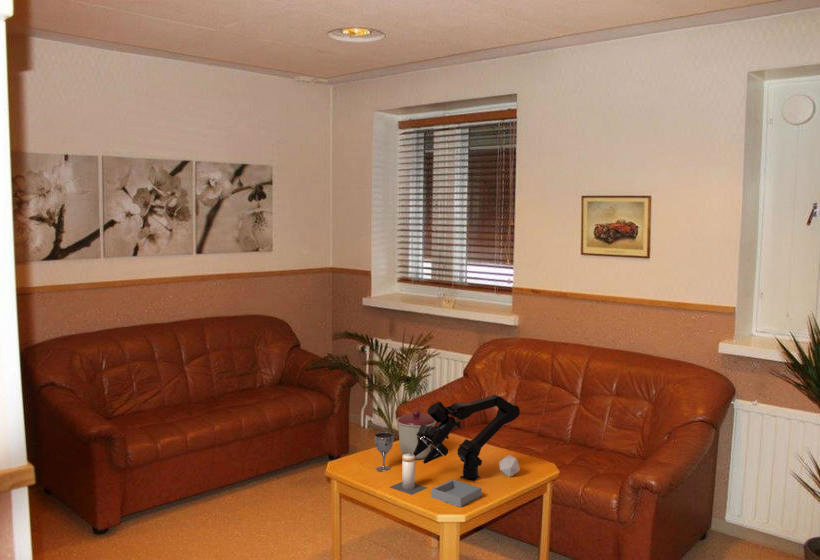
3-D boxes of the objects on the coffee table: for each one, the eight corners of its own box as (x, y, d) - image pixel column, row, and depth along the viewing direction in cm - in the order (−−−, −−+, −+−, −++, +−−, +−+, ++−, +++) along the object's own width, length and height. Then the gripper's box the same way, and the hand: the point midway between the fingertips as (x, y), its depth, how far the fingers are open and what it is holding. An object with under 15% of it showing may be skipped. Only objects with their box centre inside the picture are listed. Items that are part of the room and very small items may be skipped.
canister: (387, 454, 333) (388, 409, 331) (417, 446, 345) (417, 402, 343) (414, 465, 319) (415, 417, 318) (444, 456, 332) (444, 410, 330)
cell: (407, 484, 296) (407, 451, 295) (417, 487, 293) (417, 454, 291) (399, 487, 292) (399, 454, 291) (409, 490, 289) (409, 457, 288)
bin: (452, 487, 293) (452, 479, 293) (481, 496, 284) (481, 487, 284) (430, 497, 282) (431, 489, 282) (460, 507, 274) (460, 498, 273)
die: (523, 478, 307) (521, 455, 312) (513, 472, 301) (512, 450, 306) (506, 481, 311) (504, 459, 316) (496, 476, 305) (495, 453, 310)
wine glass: (389, 473, 309) (389, 438, 308) (371, 471, 311) (371, 436, 310) (395, 467, 316) (396, 433, 315) (378, 465, 319) (378, 431, 318)
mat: (404, 481, 300) (404, 480, 300) (427, 488, 292) (427, 487, 292) (388, 487, 292) (388, 487, 292) (412, 495, 285) (412, 494, 285)
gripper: (421, 411, 302) (396, 440, 299) (442, 423, 286) (416, 454, 282) (437, 428, 307) (413, 457, 303) (459, 440, 290) (434, 471, 286)
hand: (418, 459), depth 293 cm, fingers open, 9 cm apart
